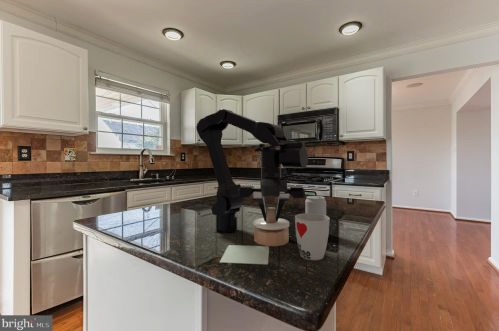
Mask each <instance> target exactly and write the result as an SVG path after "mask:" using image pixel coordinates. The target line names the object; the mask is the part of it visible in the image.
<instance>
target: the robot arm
mask: <svg viewBox="0 0 499 331" xmlns="http://www.w3.org/2000/svg"><path fill="white" fill-rule="evenodd" d="M229 125H231V126H233V127H236V128H238V129H240V130H243V131H245V132H247V133H249V134H250V135H252V136H253V138H255V139H256V140H257V141H259V142H260V144H258V146H257V147H255V149H254V152H255V153H260V165H261V166H260V168H261V169H260V172H261V173H260V174H261V175H260V178H261V179H260V180H259V181H260V184H259V186H260V187H257V188H256V187H255V188H254V185H241V184H239V183H238V184H236V183H235V182H234V180H233V177H232V174H231V171H230V168H229V165H228V161H227V157H226V155H225V151H224V148H223V145H222V139H223V131H225V130H226V129H227V128H228V126H229ZM195 127H196V132H197V134H198V136H199V138H200V140H201V141H202V142H203V144H204V145H206V147H207V150H208V154H209V158H210V161H211V166H212V167H213V170H214V172H213V173H214V175H215V178H216V182H217V191H216V202H215V203H214V204H213V205H212V206H211V207H210V210H211V213H212V215H213V216H215V222H216V223H215V226H216V227H215V231H214V234H235V233H236V232H237V231H238V230H239V217H238V216H237V213H239V212H240V211H241V208H242V206H243V204H244V201H245V199H244V198H249V197H251V196H253V197H252V200H253V201H256V202H257V205H258V206H259V208H260V212H261V215H262V216H263V217H262V218H264V221H266V203H265V197H266V198H267V197H274V198H277V197H278V200H277V208H276V222H278V219H279V218H280V216H281V212H282V210H283V207H284V205H285V203H286V202H289V201H290V196H291V197H292V198H293V199H305V198H306V190H305V188H304V187H303V186H301V185H289V188H288V177H282V167H283V168H286V169H287V168H288V169H289V168H290V169H305V168H307V166H308V164H309V154H308V150H307V148H306V143H305V142H295V143H290V141H289V140H288V138H287V137H286V136H285V132H284V129H283V127H282V126H281V125H278V124H274V123H269V122H264V121H259V120H258V121H256V120H254V119H252V118H249V117H247V116H244V115H242V114H238V113H236V112H234V111H233V110H230V109H225V108H221V109H218V111H216V112H215V113H211V114H208V115H206V116H204V117H203V118H200V119H199V120H198V122H197V123H196V126H195ZM265 144H268V146H267V145H265ZM276 147H277V148H279V149H277V148H276Z"/></svg>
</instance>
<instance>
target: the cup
mask: <svg viewBox="0 0 499 331" xmlns="http://www.w3.org/2000/svg"><path fill="white" fill-rule="evenodd" d="M330 220H331V219H330V217H329V216H328V215H326V216H325V215H321V214H313V213H305V212H304V213H298V214H295V215H294V221H295V222H294V223H295V224H294V226H295V236H296V241H297V247H298V251H299V254H300V257H301V258H303V259H305V260H308V261H309V260H310V261H319V260H322V259H323V258H324V256H325V253H326V251H327V250H326V249H327V245H328V238H329V235H330V234H329V232H330V231H329V230H330Z"/></svg>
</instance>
